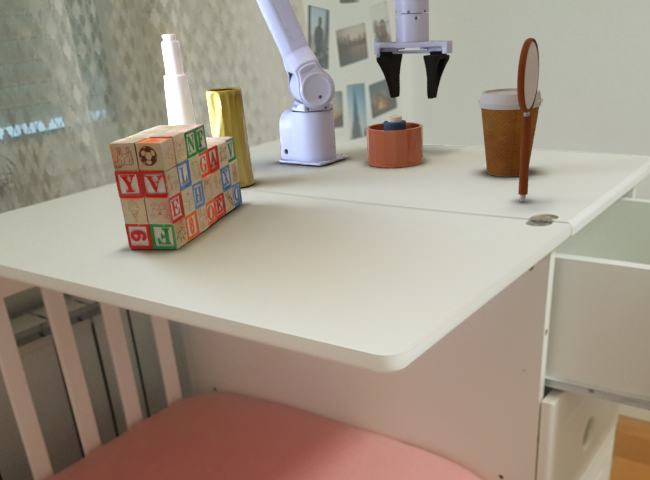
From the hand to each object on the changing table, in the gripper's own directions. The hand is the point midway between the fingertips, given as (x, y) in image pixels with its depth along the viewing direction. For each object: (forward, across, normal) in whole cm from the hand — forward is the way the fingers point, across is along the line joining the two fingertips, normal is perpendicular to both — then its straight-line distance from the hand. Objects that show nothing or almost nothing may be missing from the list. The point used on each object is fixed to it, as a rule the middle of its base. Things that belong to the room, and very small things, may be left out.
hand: (413, 97), depth 127 cm
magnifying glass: (+10, -32, +27) cm, 43 cm away
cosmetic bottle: (+10, +24, +33) cm, 42 cm away
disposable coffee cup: (+10, -23, +11) cm, 27 cm away
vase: (+10, +13, +34) cm, 38 cm away
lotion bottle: (+9, -2, +10) cm, 13 cm away
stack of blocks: (+10, +2, +54) cm, 55 cm away
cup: (+9, -2, +10) cm, 14 cm away
